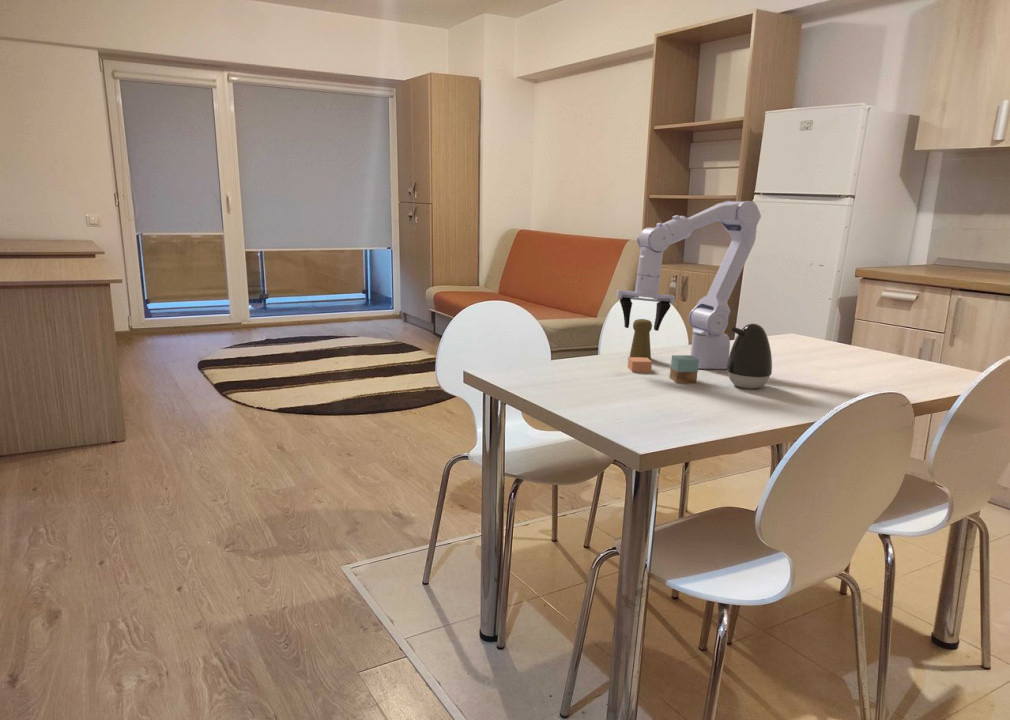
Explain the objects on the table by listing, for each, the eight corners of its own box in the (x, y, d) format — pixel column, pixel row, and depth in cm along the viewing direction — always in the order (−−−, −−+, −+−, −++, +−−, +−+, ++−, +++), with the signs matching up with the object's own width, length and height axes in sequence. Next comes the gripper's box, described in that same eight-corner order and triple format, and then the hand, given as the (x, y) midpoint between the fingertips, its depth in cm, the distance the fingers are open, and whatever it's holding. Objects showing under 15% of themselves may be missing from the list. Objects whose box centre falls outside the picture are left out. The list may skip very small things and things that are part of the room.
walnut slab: (689, 378, 173) (690, 367, 172) (696, 383, 168) (697, 371, 167) (669, 378, 172) (670, 367, 172) (676, 383, 167) (677, 371, 167)
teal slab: (690, 367, 172) (691, 355, 171) (697, 371, 167) (698, 359, 166) (670, 367, 172) (671, 355, 171) (677, 371, 167) (678, 359, 166)
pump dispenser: (717, 381, 171) (723, 320, 167) (757, 380, 172) (763, 320, 169) (735, 391, 161) (742, 327, 157) (777, 391, 162) (785, 327, 159)
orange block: (646, 368, 183) (647, 357, 182) (651, 373, 178) (651, 361, 177) (627, 368, 182) (628, 357, 182) (631, 372, 178) (632, 361, 177)
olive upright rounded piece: (652, 361, 191) (655, 321, 189) (630, 360, 191) (633, 320, 189) (648, 356, 197) (651, 318, 195) (627, 355, 197) (630, 317, 195)
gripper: (622, 274, 171) (615, 328, 174) (680, 279, 172) (673, 333, 174) (617, 272, 178) (611, 324, 181) (673, 277, 178) (666, 329, 181)
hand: (641, 328), depth 178 cm, fingers open, 7 cm apart
